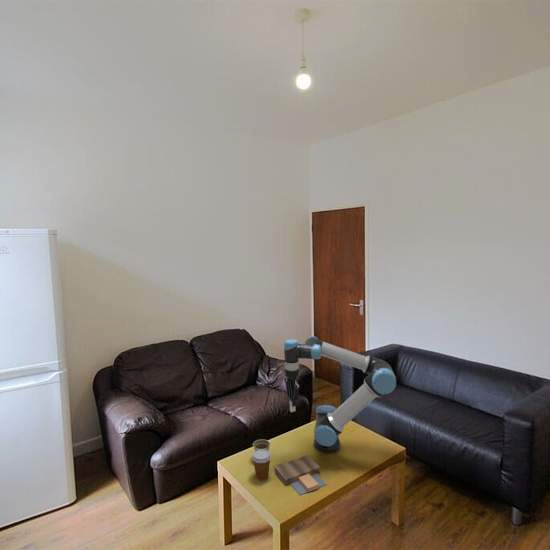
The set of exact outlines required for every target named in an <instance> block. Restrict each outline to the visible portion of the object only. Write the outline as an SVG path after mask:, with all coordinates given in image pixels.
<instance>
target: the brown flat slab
mask: <svg viewBox="0 0 550 550" xmlns="http://www.w3.org/2000/svg"><path fill="white" fill-rule="evenodd" d="M273 470H274V473H275V474H276V476H277V477H278V478H279V479H280V480H281V481H282V482H281V483H283V484H284V486H289V485H291V484H290V483H293V482H296V481H298V477H301V476H303V475H306V474H310V475H314V474H317V475H319V474H321V467H320V466H319V465H318V463H316V462H315V461H314V460H313V459H312V458H311V457H310V456H309V455H308V454H306V455H304V456H303V455H302V456H301V457H298V458H295V459H292V460H289V461H286V462H283V463H281V464H278V465H275V466H274V469H273Z"/></svg>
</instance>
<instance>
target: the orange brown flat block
mask: <svg viewBox="0 0 550 550" xmlns="http://www.w3.org/2000/svg"><path fill="white" fill-rule="evenodd" d="M298 481H299V482H300V484H301V485H302V486H303V487H304V488H305V489H306V490H307V493H310V492H313V491H316V490H317V489H319V488H320V487H319V484H318V483H317V482H316V481H315V480H314V479H313V478H312V476H311V475H310V474H306V475H303V476H301V477H298Z"/></svg>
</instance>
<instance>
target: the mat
mask: <svg viewBox="0 0 550 550" xmlns="http://www.w3.org/2000/svg"><path fill="white" fill-rule="evenodd" d="M311 476H312V478H313V479H314V480H315V481H316V482H317V483H318V484H319V488H321V487H325V486H327V483H326V482H325V481H324V480H323V479H322V478H321V477H320V476H319V474H314V475H311ZM289 485H290V486H291V487H292V488H293V490H295V492H296V493H297V494H298V495H299V496H302V495H305V494H307V493H308V492H307V490H306V489H305V488H304V487H303V486H302V485H301V484H300V482H299V481H296V482H293V483H290V484H289Z"/></svg>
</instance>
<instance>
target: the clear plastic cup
mask: <svg viewBox="0 0 550 550" xmlns="http://www.w3.org/2000/svg"><path fill="white" fill-rule="evenodd" d="M252 447H253V449H254V452H255V451H256V450H259V449H266V450H268V451H269V449H270V447H271V442H270V441H269V440H267V439H257V440H255V441H253V443H252ZM269 452H270V451H269Z"/></svg>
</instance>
